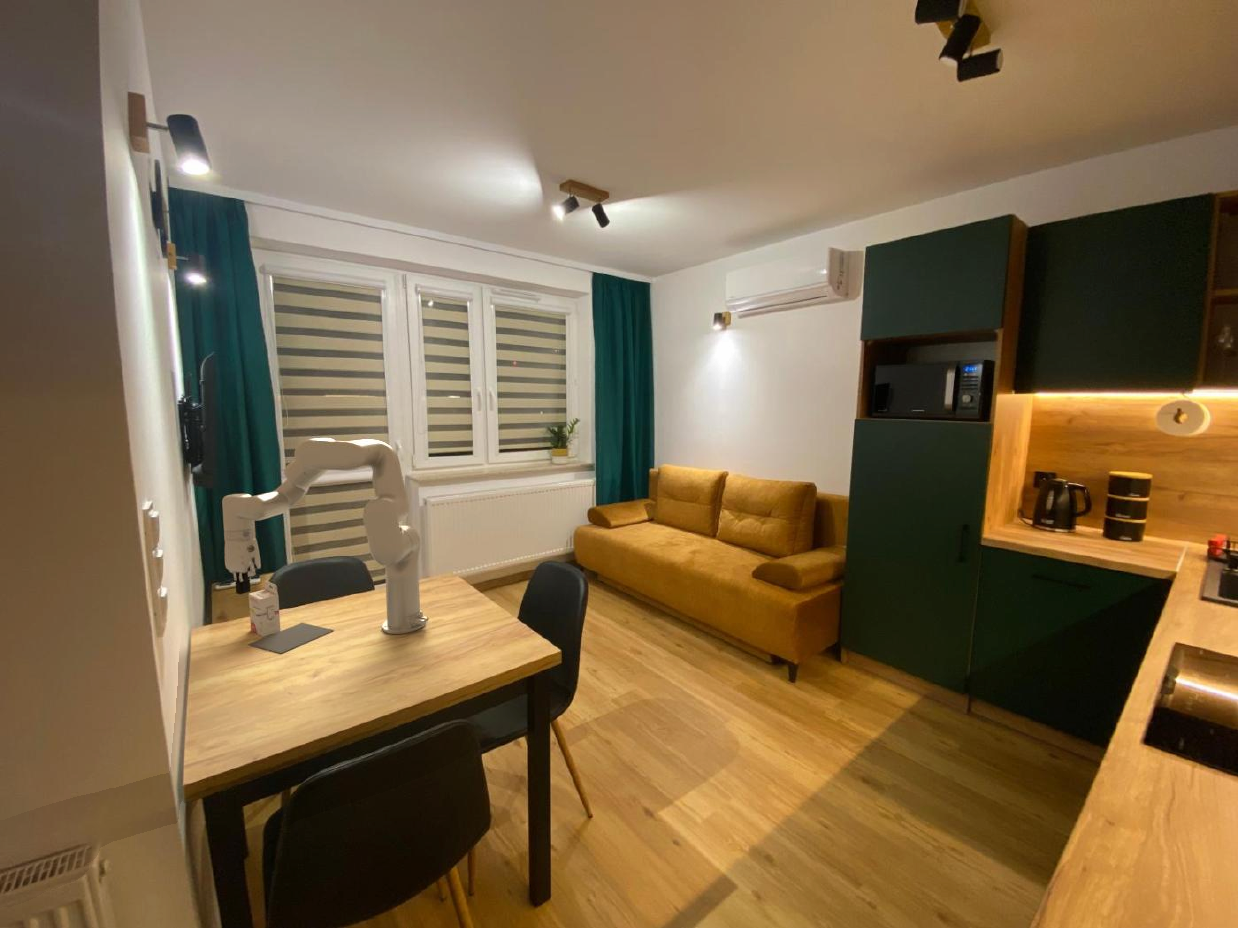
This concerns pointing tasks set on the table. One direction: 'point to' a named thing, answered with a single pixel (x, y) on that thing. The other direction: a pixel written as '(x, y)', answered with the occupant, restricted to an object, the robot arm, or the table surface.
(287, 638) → the mat
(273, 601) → the ink cartridge box
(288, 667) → the table surface
